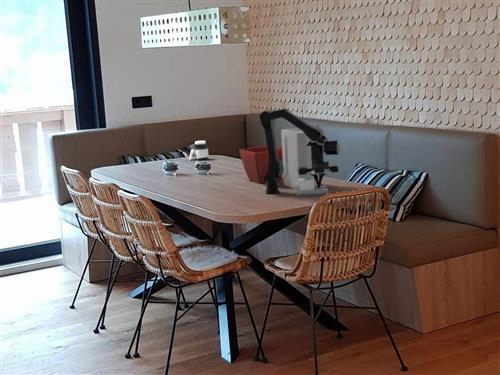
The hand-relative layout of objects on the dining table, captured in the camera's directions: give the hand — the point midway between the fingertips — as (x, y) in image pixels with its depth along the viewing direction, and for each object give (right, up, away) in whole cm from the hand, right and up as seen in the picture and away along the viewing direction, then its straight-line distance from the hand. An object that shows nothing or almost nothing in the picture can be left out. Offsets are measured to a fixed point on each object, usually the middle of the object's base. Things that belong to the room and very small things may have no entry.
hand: (318, 187), depth 366 cm
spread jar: (-66, +18, +129) cm, 146 cm away
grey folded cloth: (-4, -3, 0) cm, 4 cm away
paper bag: (-5, +1, +21) cm, 22 cm away
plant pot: (-25, +3, +41) cm, 48 cm away
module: (-6, -2, 0) cm, 6 cm away
